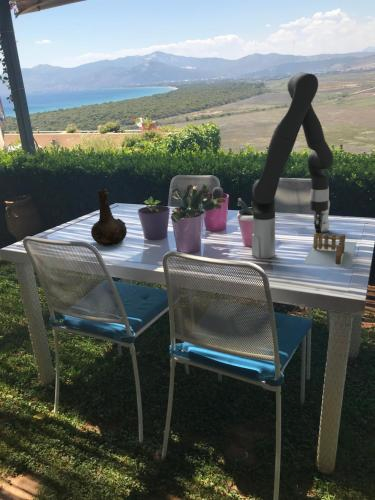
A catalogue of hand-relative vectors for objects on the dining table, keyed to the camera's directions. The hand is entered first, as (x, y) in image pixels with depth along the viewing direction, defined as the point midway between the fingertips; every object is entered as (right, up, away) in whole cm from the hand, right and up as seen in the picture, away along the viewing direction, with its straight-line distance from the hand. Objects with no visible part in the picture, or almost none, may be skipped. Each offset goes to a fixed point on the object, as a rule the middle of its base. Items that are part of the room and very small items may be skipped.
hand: (318, 237), depth 183 cm
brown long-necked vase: (-98, -2, +30) cm, 102 cm away
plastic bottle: (+9, +3, +22) cm, 24 cm away
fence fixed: (+5, -9, -12) cm, 16 cm away
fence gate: (+4, -5, -3) cm, 7 cm away
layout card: (+4, -7, -5) cm, 10 cm away
